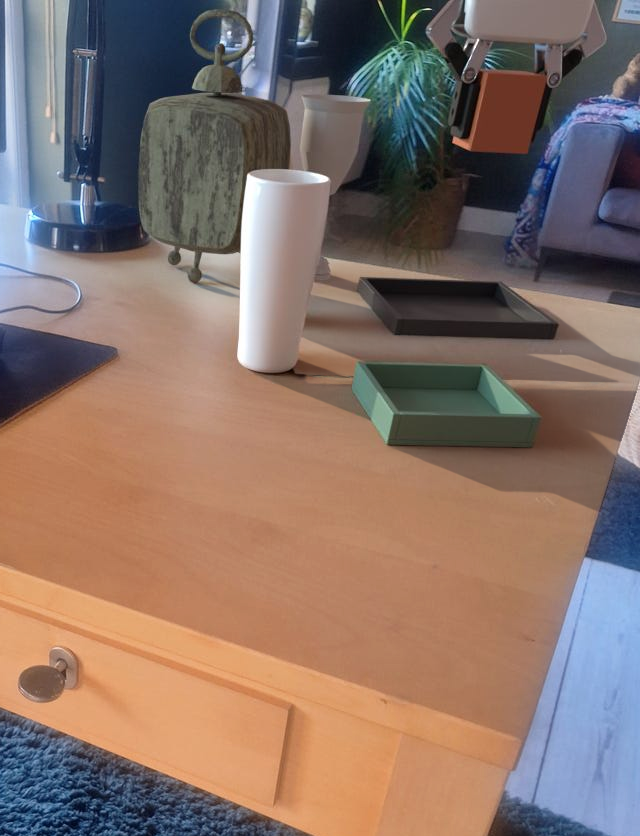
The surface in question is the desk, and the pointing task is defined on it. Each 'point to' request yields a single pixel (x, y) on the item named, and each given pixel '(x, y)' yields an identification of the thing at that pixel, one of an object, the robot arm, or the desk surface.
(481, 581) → the desk surface
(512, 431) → the tray
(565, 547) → the desk surface
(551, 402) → the desk surface
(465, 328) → the pan
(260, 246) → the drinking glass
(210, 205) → the tabletop clock
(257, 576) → the desk surface
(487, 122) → the block
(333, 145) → the chalice
